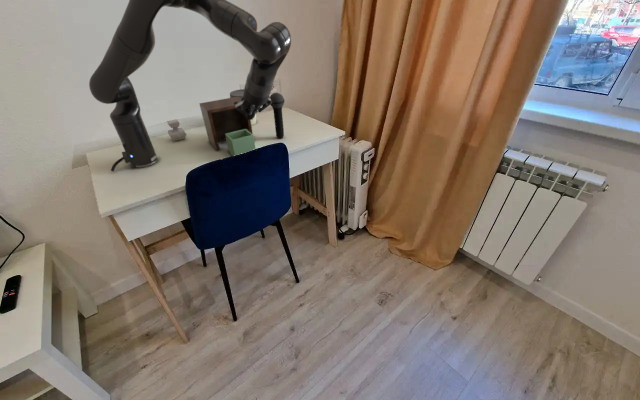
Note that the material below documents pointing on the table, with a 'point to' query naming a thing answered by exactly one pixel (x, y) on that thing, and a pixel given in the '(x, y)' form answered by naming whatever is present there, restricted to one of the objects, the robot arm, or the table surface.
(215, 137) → the cubby
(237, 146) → the basket
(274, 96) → the microphone
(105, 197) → the table surface
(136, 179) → the table surface
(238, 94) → the reusable coffee cup
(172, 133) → the stamp
